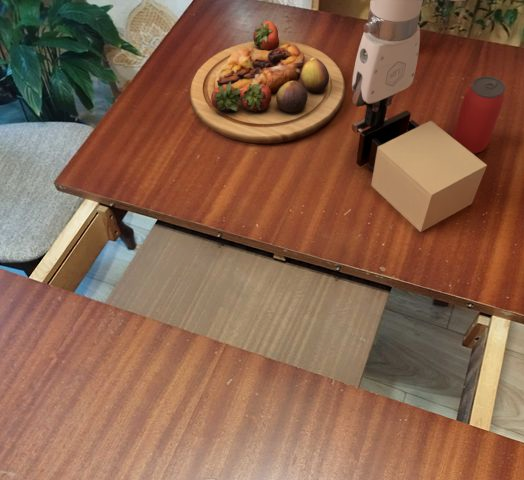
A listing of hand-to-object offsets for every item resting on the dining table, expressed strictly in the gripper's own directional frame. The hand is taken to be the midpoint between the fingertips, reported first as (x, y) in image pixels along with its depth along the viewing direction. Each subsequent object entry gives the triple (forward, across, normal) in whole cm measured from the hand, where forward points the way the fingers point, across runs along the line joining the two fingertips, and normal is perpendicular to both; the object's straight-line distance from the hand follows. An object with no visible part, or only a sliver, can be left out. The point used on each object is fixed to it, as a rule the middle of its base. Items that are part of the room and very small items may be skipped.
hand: (373, 124), depth 98 cm
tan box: (+6, 0, -14) cm, 15 cm away
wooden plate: (+7, -7, +26) cm, 27 cm away
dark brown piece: (+5, 0, -6) cm, 8 cm away
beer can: (+6, +16, -9) cm, 20 cm away
